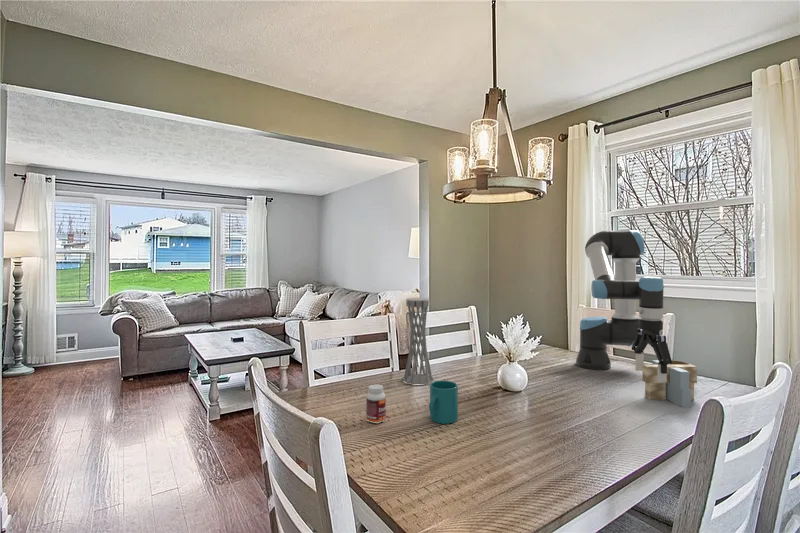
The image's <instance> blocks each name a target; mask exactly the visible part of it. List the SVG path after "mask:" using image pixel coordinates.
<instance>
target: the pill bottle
mask: <svg viewBox="0 0 800 533" xmlns="http://www.w3.org/2000/svg"><path fill="white" fill-rule="evenodd" d="M365 398H366V402H365V403H366V406H365V407H366V408H365V409H366V410H365V411H366V414H365V415H366V421H367V420H369V421H372V422H380V421H383V420H385V421H386V419H385V418H386V412H387V408H386V406H387V405H386V400H387V398H386V394H385V392H384V385H382V384H371V385H368V393H367V394H366V397H365Z"/></svg>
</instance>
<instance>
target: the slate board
mask: <svg viewBox="0 0 800 533" xmlns="http://www.w3.org/2000/svg"><path fill="white" fill-rule="evenodd" d="M651 362H652V363H651V365H658V363H659V361H658V359H656V360H653V359H652V360H651ZM668 365H670V364H668ZM665 400H668V401H670V402H672V403H674V404H676V405H678V406H680V407H681V408H692V399H691V390H690V389H689V372H688V371H686V370H683V369H681V368H678V367H670V383H666V399H665Z"/></svg>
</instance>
